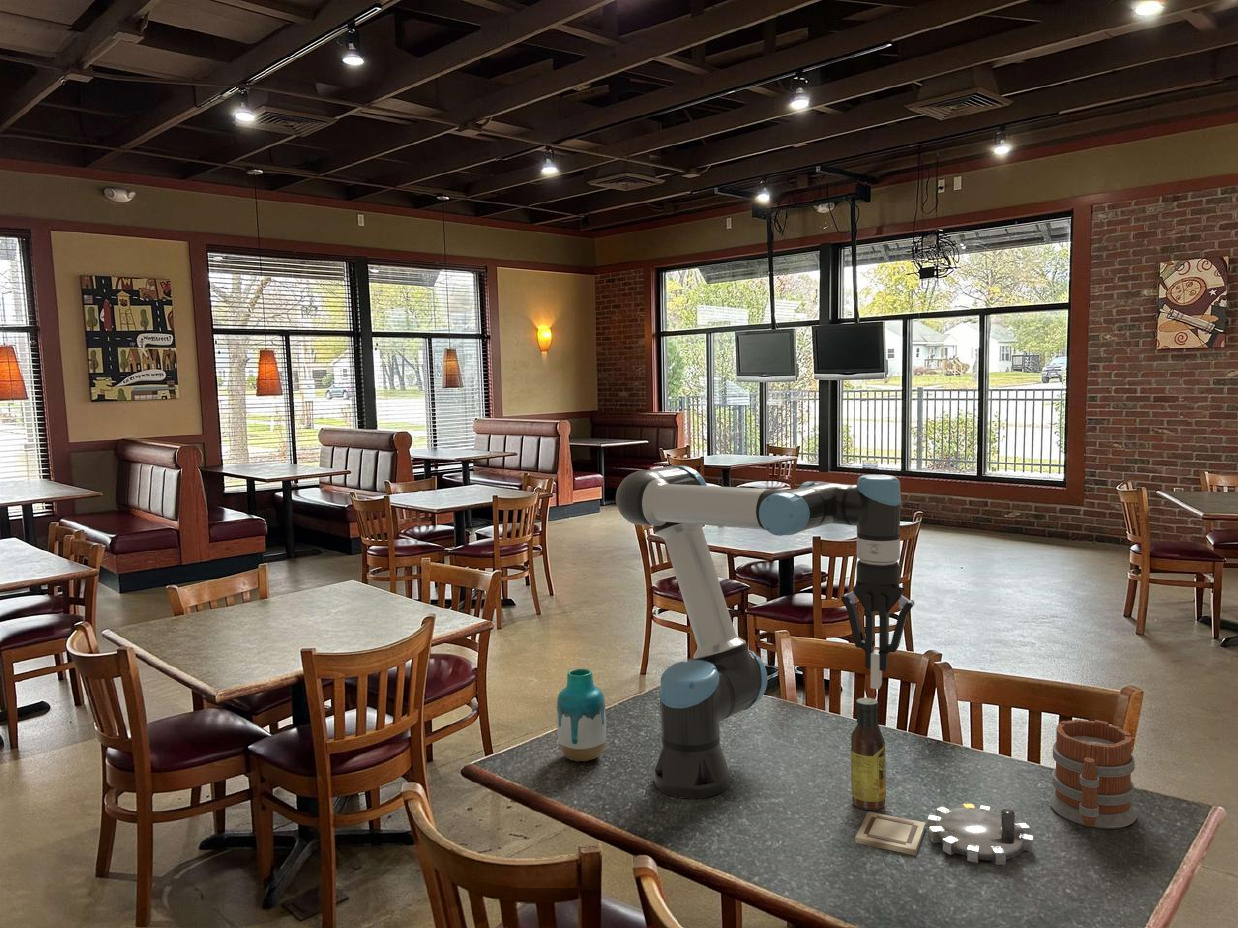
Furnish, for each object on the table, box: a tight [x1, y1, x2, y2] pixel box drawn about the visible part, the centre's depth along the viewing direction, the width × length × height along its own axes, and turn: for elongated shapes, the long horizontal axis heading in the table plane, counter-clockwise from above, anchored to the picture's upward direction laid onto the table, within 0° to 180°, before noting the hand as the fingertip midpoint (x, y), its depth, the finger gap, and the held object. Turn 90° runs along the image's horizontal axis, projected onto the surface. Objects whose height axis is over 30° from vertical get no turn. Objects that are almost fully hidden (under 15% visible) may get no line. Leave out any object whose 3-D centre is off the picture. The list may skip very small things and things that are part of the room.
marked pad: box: [854, 811, 926, 856], centre depth 154 cm, size 10×10×1 cm
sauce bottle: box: [850, 697, 887, 811], centre depth 165 cm, size 7×6×20 cm
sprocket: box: [927, 803, 1034, 866], centre depth 151 cm, size 17×16×7 cm
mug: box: [1048, 719, 1138, 830], centre depth 157 cm, size 14×19×15 cm
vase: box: [556, 667, 607, 762], centre depth 189 cm, size 11×11×19 cm
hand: (876, 686), depth 162 cm, fingers closed
